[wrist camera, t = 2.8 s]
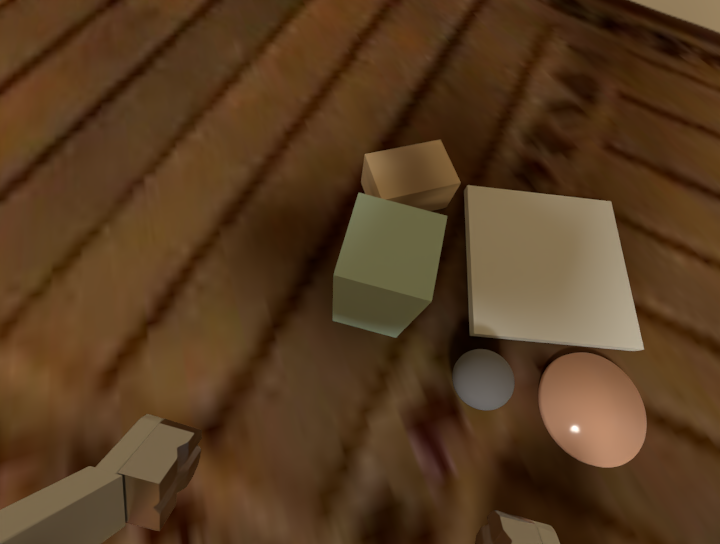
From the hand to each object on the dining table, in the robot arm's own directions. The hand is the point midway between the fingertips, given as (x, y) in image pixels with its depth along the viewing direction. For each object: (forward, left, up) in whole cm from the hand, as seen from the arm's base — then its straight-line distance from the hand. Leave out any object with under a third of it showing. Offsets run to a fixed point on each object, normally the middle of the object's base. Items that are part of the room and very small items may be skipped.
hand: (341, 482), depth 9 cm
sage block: (-2, -9, -12) cm, 15 cm away
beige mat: (-15, -13, -12) cm, 23 cm away
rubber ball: (-9, -4, -11) cm, 14 cm away
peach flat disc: (-17, -3, -13) cm, 21 cm away
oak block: (-4, -18, -13) cm, 22 cm away
